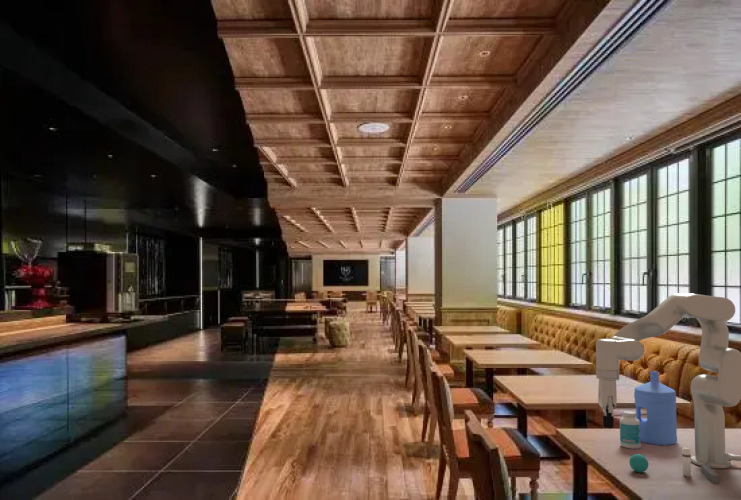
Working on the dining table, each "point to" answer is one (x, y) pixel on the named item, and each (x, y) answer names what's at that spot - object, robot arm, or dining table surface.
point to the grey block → (710, 473)
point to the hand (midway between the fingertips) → (608, 427)
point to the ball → (638, 463)
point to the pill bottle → (629, 430)
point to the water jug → (656, 412)
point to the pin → (686, 462)
